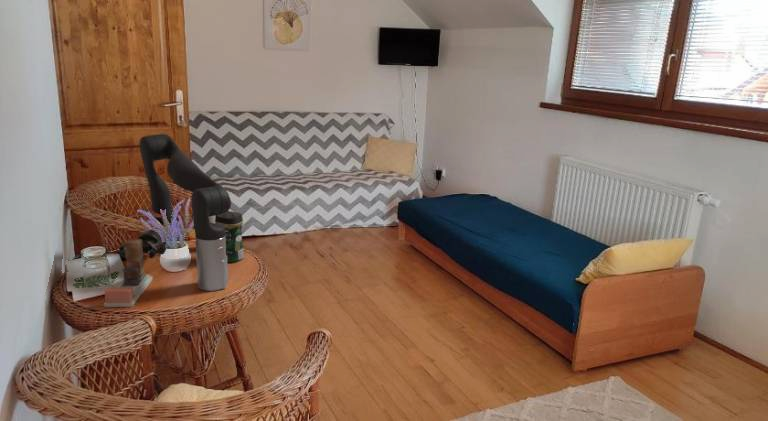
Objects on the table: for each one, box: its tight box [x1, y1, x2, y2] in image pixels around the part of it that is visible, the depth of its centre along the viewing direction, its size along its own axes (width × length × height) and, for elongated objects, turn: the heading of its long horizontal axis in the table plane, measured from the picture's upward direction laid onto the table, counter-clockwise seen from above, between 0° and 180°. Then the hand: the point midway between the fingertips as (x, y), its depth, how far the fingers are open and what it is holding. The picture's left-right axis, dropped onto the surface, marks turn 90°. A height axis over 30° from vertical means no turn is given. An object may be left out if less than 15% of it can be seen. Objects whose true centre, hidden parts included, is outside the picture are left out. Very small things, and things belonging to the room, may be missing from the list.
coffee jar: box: [215, 210, 244, 263], centre depth 203 cm, size 10×8×19 cm
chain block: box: [122, 238, 146, 285], centre depth 177 cm, size 4×7×13 cm, turn 7°
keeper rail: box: [103, 273, 153, 308], centre depth 173 cm, size 8×21×5 cm, turn 7°
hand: (136, 255), depth 180 cm, fingers open, 8 cm apart
